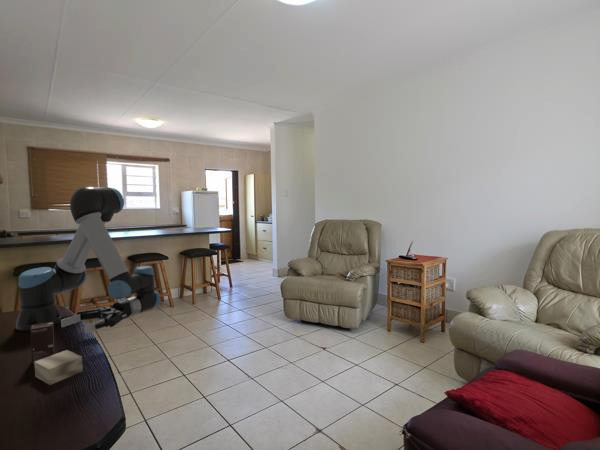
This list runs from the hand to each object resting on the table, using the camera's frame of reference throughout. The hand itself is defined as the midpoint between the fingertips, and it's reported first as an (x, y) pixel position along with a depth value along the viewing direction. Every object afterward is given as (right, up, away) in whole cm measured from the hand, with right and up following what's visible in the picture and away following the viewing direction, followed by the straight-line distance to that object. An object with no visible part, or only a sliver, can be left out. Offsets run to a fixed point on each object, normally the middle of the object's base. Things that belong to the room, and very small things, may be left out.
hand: (73, 326), depth 120 cm
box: (-4, -9, -8) cm, 13 cm away
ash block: (+7, -10, -17) cm, 21 cm away
